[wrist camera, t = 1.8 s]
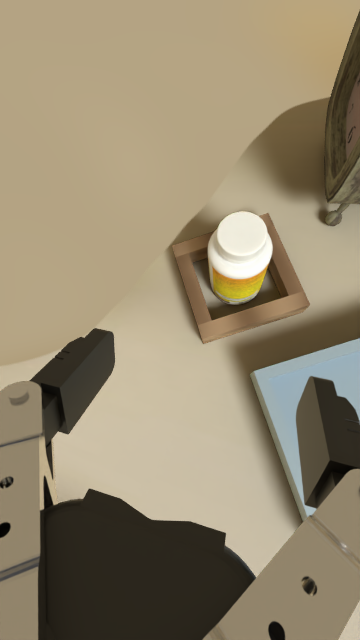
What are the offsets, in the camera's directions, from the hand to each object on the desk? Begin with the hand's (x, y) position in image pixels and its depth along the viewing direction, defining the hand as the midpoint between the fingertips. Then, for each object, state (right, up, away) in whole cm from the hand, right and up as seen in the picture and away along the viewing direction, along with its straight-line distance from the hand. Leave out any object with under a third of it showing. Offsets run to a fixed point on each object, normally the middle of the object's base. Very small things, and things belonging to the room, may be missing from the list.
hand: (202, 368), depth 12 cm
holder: (+5, +6, +21) cm, 22 cm away
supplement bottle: (+5, +6, +21) cm, 22 cm away
